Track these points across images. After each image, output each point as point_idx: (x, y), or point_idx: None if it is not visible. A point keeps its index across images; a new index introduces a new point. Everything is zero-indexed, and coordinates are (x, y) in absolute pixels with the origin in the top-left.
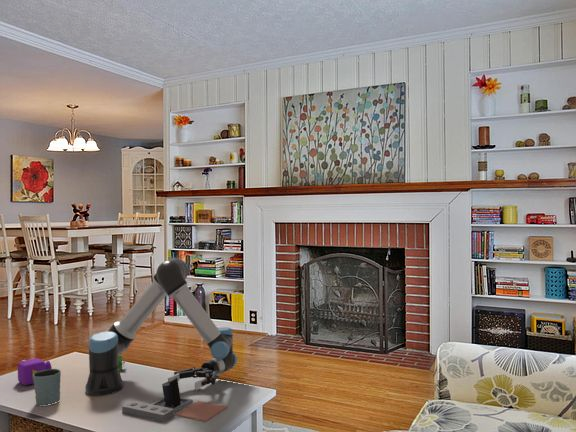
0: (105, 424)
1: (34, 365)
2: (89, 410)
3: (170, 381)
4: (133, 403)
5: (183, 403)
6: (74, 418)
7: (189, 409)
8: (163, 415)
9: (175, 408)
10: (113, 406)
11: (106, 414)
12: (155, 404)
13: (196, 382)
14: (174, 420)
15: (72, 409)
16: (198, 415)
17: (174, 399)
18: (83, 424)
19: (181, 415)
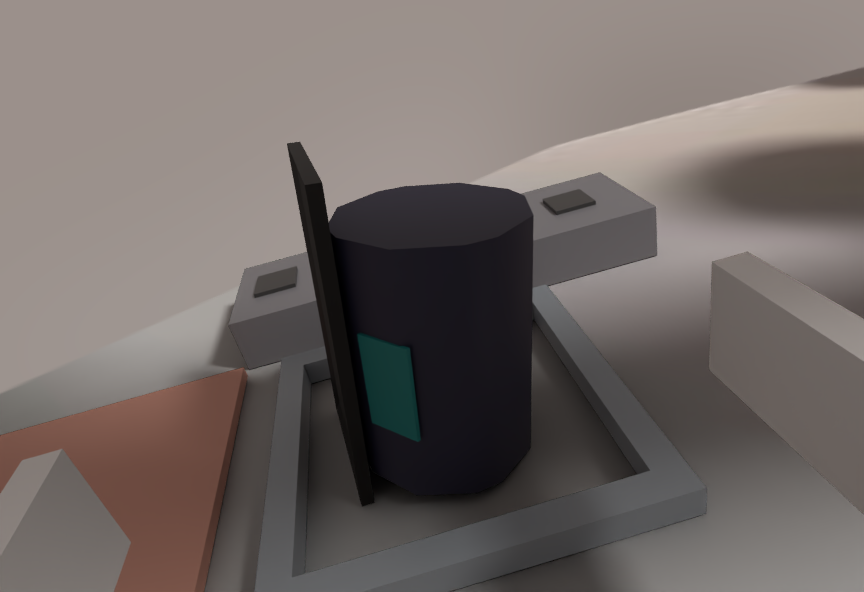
0: (514, 177)
1: None
2: (779, 141)
3: (302, 147)
4: (582, 199)
5: (289, 475)
6: (697, 123)
7: (163, 469)
8: (246, 273)
9: (287, 383)
10: (771, 196)
11: (644, 178)
12: (549, 333)
13: (24, 474)
14: (204, 349)
15: (854, 109)
16: (22, 458)
17: (333, 358)
18: (591, 141)
19: (180, 386)
